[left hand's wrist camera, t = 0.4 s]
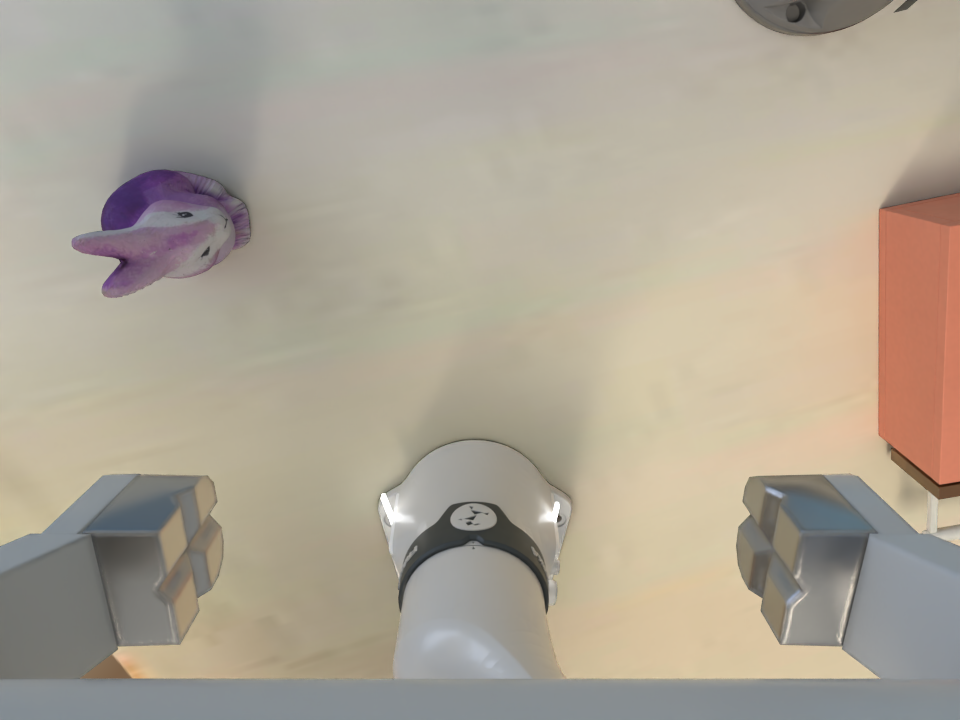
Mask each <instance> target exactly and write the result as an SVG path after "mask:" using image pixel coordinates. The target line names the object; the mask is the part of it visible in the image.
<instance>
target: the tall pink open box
mask: <svg viewBox="0 0 960 720" xmlns="http://www.w3.org/2000/svg"><path fill="white" fill-rule="evenodd" d="M879 436H881V437H882V438H883V439H884V440H886V441H887V442H888V443H889V444H890V445H892V446H893V447H894V448H895V449H897V450H898V451H899V452H900V453H902V454H903V455H904V456H905V457H906V458H908V459H909V460H910V461H911V462H913V463H914V464H915V465H916V466H917V467H919V468H920V469H921V470H922V471H924V472H925V473H926V474H927V475H928V476H930V477H931V478H932V479H933V480H934V481H936V482H937V483H938V484H939V485H941V484H947V483H953V482H958V481H960V193H956V194H951V195H946V196H941V197H936V198H931V199H926V200H921V201H917V202H912V203H907V204H902V205H897V206H892V207H887V208H882V209H880V211H879Z"/></svg>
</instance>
